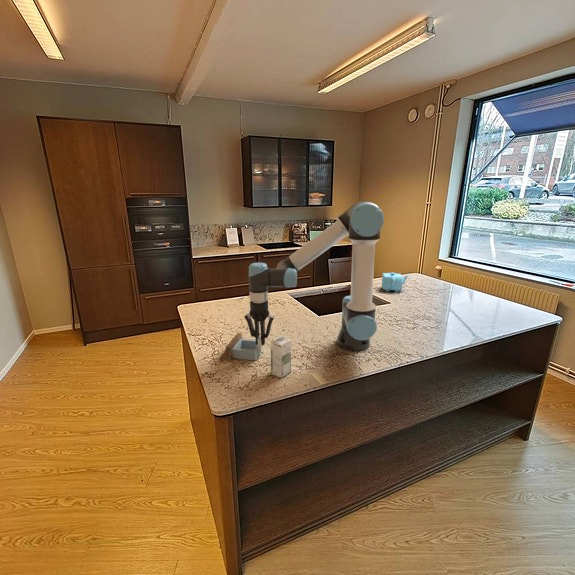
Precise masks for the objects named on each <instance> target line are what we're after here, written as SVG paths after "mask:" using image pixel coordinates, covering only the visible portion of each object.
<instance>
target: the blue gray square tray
mask: <svg viewBox="0 0 575 575" xmlns="http://www.w3.org/2000/svg"><path fill="white" fill-rule="evenodd" d="M259 355H261V353H258V345H256V339H247V338H242V339H240V340H239V341H238V343H237V344H236V345H235V346H234V347H233V349H232V357H233V358H232V359H237V360H238V359H240V360H247V361H257V359H258V358H259Z"/></svg>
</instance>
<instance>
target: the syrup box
mask: <svg viewBox="0 0 575 575" xmlns="http://www.w3.org/2000/svg"><path fill="white" fill-rule="evenodd" d="M291 369H292V340H291V339H290V338H288V337H285V336H281V335H280V336H278V337H276V338H274V339H272V340H270V374H271V375H273V376H275V377H278V378H281V379H283V378H284V377H287V375H289V374H290V373H291V371H292V370H291Z"/></svg>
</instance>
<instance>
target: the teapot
mask: <svg viewBox="0 0 575 575" xmlns="http://www.w3.org/2000/svg"><path fill="white" fill-rule="evenodd" d="M410 276H411V275H410V274H408V275H407V274H406V275H404V277H403V275H402V274H401V273H395V272H387V273H386V272H382V277H381V287H382V290H384V291H385V292H386V291H389V292H390V291H395V292H394V293H399V291H402V290H403V289H402V288H403V285H404V284H405V282H406V281H407V279H408V277H410Z"/></svg>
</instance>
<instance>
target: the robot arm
mask: <svg viewBox="0 0 575 575" xmlns="http://www.w3.org/2000/svg"><path fill="white" fill-rule="evenodd" d="M384 222H385V217H384V213H383V211H382V209H381V208H380V207H379V206H378V205H377V204H376V203H374V202H370V201H364V200H363V201H357V202H354V203H353V204H352V205H350V207H348V208H347V209H346V210H345V211H344V212H342V213H341V214H340V215H339V216H337V217H336V221H335V222H333V223H331V225H329V226H328V227H327V228H325V229H324V230H323V231H320V233H319V234H317V235H315V237H313V238H312V239H310V240H309V241H308V242H306V243H305V244H304V245H302V246H301V247H299V248H298V249H296V251H294V252H293V253H292V254H290V255H288V257H286V258H285V259H282V260H281V261H279V262H278V264H276V268H268V265H267V263H265V262H253V263H250V264H249V265H248V283H249V284H248V286H249V288H248V290H249V309H250V310H249V312H248V313H246V314H245V315H244V319H245V320H246V322H247V326H248V330H249V334H250V336H251V337H252V338H255V340H256V345H258V353H260V354H262V353H263V351H264V346H265V345H266V344H265V343H266V339H268V337H269V336H270V332H271V328H272V324H273V321H274V320H275V318H276V317H275V315H271V314H270V311H269V300H268V299H269V290H268V288H289V289H290V288H295V287H297V284H298V281H297V280H298V272H299V271H300V270H302V269H303V268H304V267H306V266H307V265H308V264H310V263H312V262H313V261H314V260H315V259H317V258H318V257H320V256H321V255H322V254H324V253H325V252H327V251H328V250H329V249H331V248H332V247H333V246H335V245H336V244H338V243H339V242H340V241H342V240H344V239H345V238H346V237H348V239H349V241H350V242H351V243H352V245H351V246H352V247H351V248H352V250H351V251H352V252H351V277H350V295H346V296H344V297H343V298H342V303H341V305H342V308H341V309H342V310H341V327H340V330H339V332H338V335H337V337H336V343H337V345H338V346H339V347H340V348H342V349H344V350H347V351H355V352H357V351H363V350H364V351H365V350H367V349H369V347H370V344H371V340H370V339H371V338H372V337H374V335H375V333H376V332H377V329H378V325H377V321H376V306H377V305H375V303H374V302H373V293H374V288H373V287H374V273H375V259H376V258H375V257H376V256H375V255H376V244H377V242H379V241H380V239H381V229H382V227H383V226H384ZM267 320H268V323H267V325H266V324H265V323H266V321H267ZM253 322H254V323H253Z"/></svg>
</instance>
